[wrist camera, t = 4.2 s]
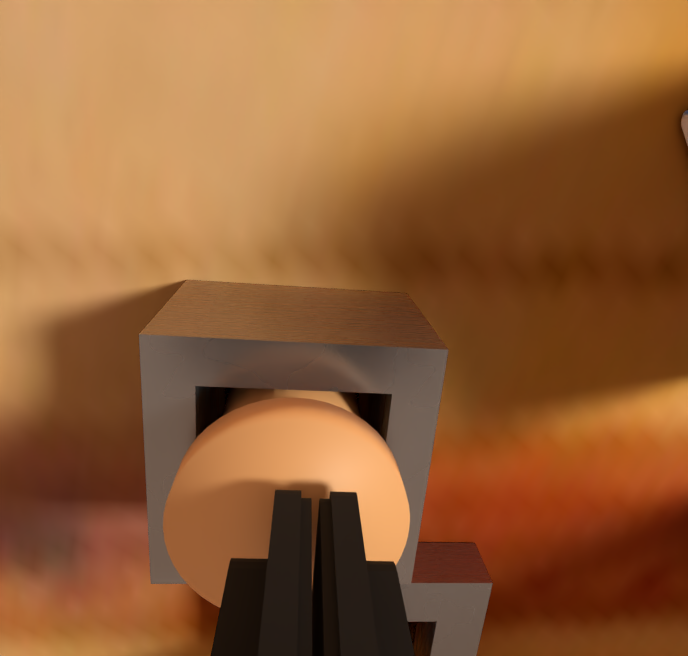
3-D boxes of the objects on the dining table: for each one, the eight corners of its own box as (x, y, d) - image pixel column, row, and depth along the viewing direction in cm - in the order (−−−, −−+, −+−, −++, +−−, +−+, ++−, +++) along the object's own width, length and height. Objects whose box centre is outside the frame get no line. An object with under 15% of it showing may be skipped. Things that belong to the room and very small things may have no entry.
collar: (474, 542, 20) (492, 583, 18) (442, 703, 23) (454, 752, 21) (244, 540, 19) (238, 582, 17) (240, 708, 22) (234, 760, 20)
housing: (406, 293, 17) (448, 349, 12) (383, 476, 19) (410, 584, 14) (186, 279, 16) (138, 334, 11) (189, 471, 18) (150, 583, 14)
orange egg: (383, 332, 16) (425, 424, 10) (366, 477, 17) (395, 621, 12) (208, 322, 15) (158, 416, 10) (208, 473, 17) (166, 622, 11)
